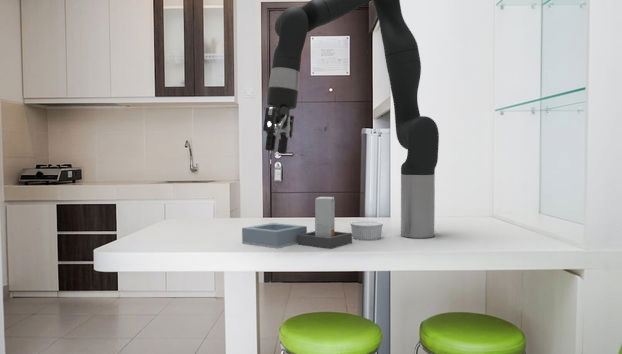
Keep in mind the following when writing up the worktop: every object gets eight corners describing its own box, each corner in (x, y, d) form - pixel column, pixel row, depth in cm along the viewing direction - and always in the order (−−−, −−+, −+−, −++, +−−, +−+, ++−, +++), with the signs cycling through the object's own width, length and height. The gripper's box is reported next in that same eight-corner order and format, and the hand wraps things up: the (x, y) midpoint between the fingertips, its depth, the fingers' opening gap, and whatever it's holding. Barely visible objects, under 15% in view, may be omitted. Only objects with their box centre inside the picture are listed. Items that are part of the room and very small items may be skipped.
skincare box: (331, 246, 128) (331, 198, 128) (314, 245, 129) (314, 198, 128) (335, 242, 134) (334, 196, 134) (319, 241, 135) (318, 196, 134)
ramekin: (389, 238, 139) (389, 223, 139) (364, 242, 134) (364, 225, 134) (368, 234, 146) (368, 219, 146) (343, 237, 141) (343, 222, 141)
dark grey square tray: (320, 239, 138) (320, 229, 138) (351, 242, 132) (351, 233, 132) (297, 244, 131) (297, 234, 130) (329, 248, 124) (329, 238, 124)
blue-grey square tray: (272, 237, 142) (272, 222, 142) (306, 241, 135) (306, 226, 135) (242, 243, 133) (242, 228, 133) (277, 248, 126) (276, 232, 125)
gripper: (288, 83, 121) (279, 151, 121) (306, 94, 134) (298, 155, 134) (259, 81, 123) (251, 148, 123) (279, 93, 137) (272, 153, 137)
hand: (276, 152), depth 129 cm, fingers open, 8 cm apart
